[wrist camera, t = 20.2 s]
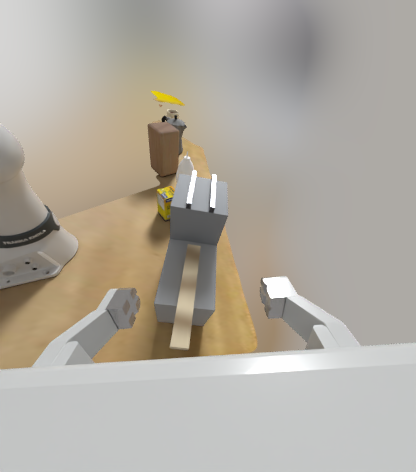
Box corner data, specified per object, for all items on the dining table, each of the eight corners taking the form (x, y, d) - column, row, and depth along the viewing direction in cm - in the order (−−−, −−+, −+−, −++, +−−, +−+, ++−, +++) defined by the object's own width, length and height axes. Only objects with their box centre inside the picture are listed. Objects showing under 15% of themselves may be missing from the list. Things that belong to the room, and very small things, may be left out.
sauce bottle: (186, 182, 84) (190, 144, 70) (195, 191, 81) (201, 154, 67) (172, 186, 80) (173, 147, 66) (181, 196, 77) (184, 157, 63)
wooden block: (150, 167, 86) (146, 122, 71) (167, 163, 92) (167, 120, 76) (161, 178, 83) (159, 133, 67) (178, 172, 88) (180, 130, 72)
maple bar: (187, 350, 29) (188, 348, 27) (169, 348, 29) (169, 346, 27) (198, 253, 42) (200, 246, 40) (186, 251, 42) (187, 244, 39)
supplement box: (178, 216, 69) (180, 194, 61) (165, 221, 66) (164, 199, 58) (170, 207, 71) (171, 185, 63) (157, 212, 68) (156, 189, 60)
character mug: (174, 138, 111) (175, 115, 101) (164, 135, 111) (163, 112, 101) (180, 132, 118) (181, 110, 108) (170, 130, 118) (170, 107, 108)
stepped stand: (203, 326, 46) (232, 285, 25) (157, 321, 45) (148, 275, 24) (208, 242, 64) (228, 177, 42) (176, 237, 62) (180, 167, 41)
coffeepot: (188, 152, 103) (191, 117, 89) (179, 157, 97) (181, 121, 83) (167, 142, 106) (167, 107, 92) (157, 147, 100) (155, 111, 86)
